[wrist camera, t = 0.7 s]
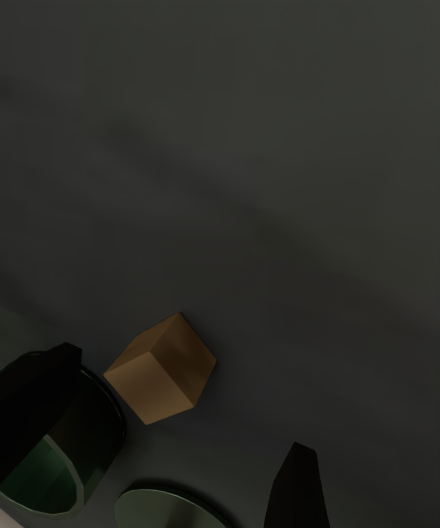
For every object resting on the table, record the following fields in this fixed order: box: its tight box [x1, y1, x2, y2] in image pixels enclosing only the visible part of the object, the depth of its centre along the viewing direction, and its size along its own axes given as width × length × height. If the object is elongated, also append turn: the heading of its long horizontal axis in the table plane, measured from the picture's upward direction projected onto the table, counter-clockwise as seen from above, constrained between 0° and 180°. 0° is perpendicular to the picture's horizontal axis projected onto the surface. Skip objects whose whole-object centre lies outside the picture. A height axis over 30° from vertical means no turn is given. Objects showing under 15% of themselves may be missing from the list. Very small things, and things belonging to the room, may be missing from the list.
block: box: [103, 312, 217, 425], centre depth 22 cm, size 4×4×4 cm
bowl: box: [0, 351, 126, 520], centre depth 27 cm, size 11×11×5 cm
